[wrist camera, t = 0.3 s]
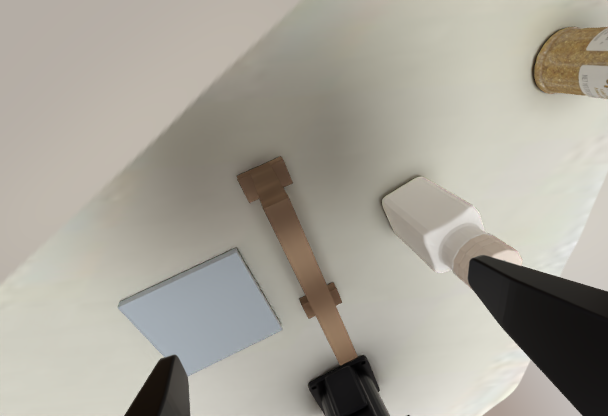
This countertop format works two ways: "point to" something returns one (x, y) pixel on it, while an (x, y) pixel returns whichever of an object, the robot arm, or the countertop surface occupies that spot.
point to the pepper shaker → (442, 228)
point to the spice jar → (574, 62)
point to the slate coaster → (204, 312)
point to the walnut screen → (298, 252)
